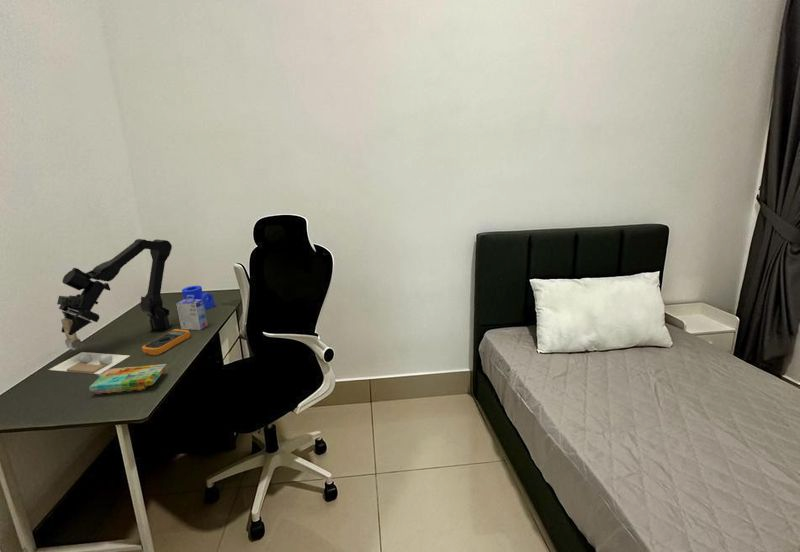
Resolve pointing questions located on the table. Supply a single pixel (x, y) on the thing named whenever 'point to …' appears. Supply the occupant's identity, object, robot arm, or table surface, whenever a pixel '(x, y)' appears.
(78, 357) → the board
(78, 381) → the table surface
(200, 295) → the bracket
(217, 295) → the table surface
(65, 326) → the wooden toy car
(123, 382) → the puzzle game
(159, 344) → the multimeter
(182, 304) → the ink cartridge box
